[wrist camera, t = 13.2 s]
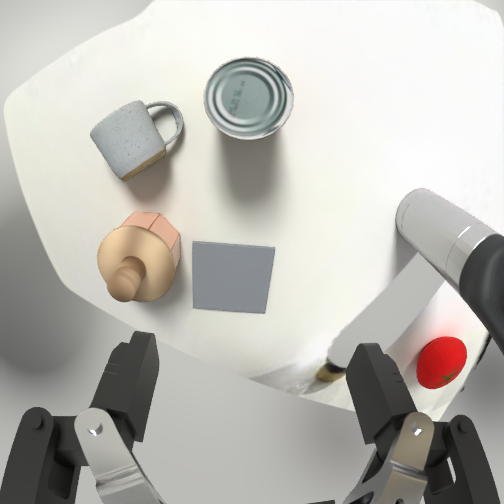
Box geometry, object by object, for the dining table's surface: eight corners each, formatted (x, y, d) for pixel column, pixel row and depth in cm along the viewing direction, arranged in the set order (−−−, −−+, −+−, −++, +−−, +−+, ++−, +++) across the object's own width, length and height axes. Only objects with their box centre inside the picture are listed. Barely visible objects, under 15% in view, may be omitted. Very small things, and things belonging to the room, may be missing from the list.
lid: (174, 228, 34) (161, 251, 28) (177, 300, 39) (168, 330, 33) (96, 223, 33) (73, 244, 27) (107, 292, 38) (91, 318, 32)
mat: (274, 247, 42) (275, 249, 41) (264, 310, 47) (264, 313, 47) (193, 240, 41) (192, 242, 41) (193, 305, 47) (193, 307, 46)
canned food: (230, 141, 35) (224, 153, 24) (206, 88, 31) (189, 77, 21) (287, 119, 34) (307, 122, 23) (264, 66, 30) (273, 44, 19)
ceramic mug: (133, 177, 36) (112, 192, 29) (105, 131, 33) (78, 136, 26) (196, 136, 34) (186, 141, 28) (167, 86, 31) (149, 80, 24)
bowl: (179, 214, 39) (170, 231, 34) (180, 274, 44) (173, 297, 38) (116, 211, 38) (99, 226, 33) (122, 268, 43) (109, 289, 38)
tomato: (450, 318, 52) (472, 348, 43) (458, 342, 56) (476, 369, 47) (402, 355, 56) (419, 388, 47) (416, 373, 61) (430, 403, 51)
